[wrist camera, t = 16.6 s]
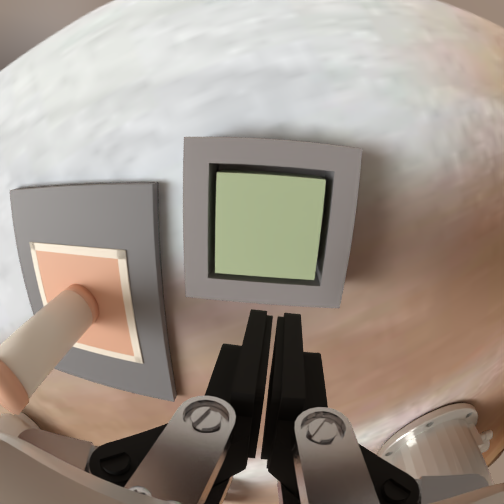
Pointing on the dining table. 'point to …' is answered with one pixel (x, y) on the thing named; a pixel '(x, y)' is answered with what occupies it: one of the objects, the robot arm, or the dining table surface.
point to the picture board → (101, 277)
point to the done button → (268, 223)
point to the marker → (43, 344)
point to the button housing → (271, 160)
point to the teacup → (15, 423)
